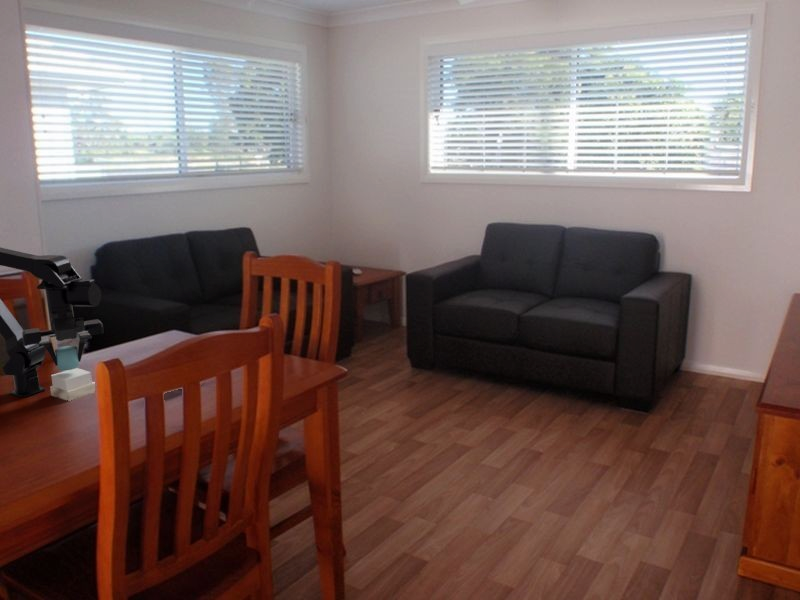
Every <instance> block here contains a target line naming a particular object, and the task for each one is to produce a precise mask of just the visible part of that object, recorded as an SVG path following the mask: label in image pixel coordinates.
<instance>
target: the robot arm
mask: <svg viewBox="0 0 800 600" xmlns="http://www.w3.org/2000/svg"><path fill="white" fill-rule="evenodd" d="M0 266H1V267H6V268H12V269H15V270H19V271H25V272H27V273H30V274H31V275H33V276H34V277H35V278H37V279H39V280H41V282H40V283H39V284H38V285H36V289H37V290H44V291H45V297H46V304H47V312H48V319H49V327H50V329H47V330H41V329H40V328H39V327H36V328H27V329H24V328H23V327H22V326H21V325H20V324H19V323H18V321H17V320H16V318H15V317H14V315H13V314H12V313H11V311H10V310H9V308H8V307H7V305H5V303H4V302H3V301H2V299H1V298H0V335H1V337H2V338H3V339H4V341H5V349H6V354H7V355H8V357H9V359H8V360H7V362H6V363H5V364H4V365H3V366H2V371H3V372H4V374H5V376H12V380H13V385H14V389H13V390H10V391H9V394H11V395H13V396H17V397H19V398H20V397H21V398H25V397H26V398H27V397H28V396H32V395H35V394H38V393H40V392H43V391H46V387H43V386H40V380H39V374H38V370H37V368H38V367H41V366H43V364H44V360H45V357H46V355H47V352H48V354H49V355H50V358H51V359H52V361H53V362H54V365H55V366H56V367H57V359H56V354H55V349H54V346H53V342H52V340H51V338H54V337H55V339H56V340H57V341H58V342H59V341H60V342H62V341H64V340H75V339H76V347H77V352H78V360H79V363H80V362H81V360H82V356H83V352H84V348H85V345H86V343H87V341H88V340H89V339H91V338H92V336H95V335H96V336H97V335H101V334H104V333H105V330H104V329H105V328H104V324H103V323H102V321H101V320H99V319H98V318H96V319H91V320H85V321H84V317H77V318H75V315H74V309H73V307H97V306H99V305H100V304H101V300H102V290H101V289H100V287H99V286H98V284H96V280H95V279H91V278H90V279H83V278H82V276H80V274H79V273H78V272H77V270H76V269H75V268H74V267H73V265H72V264H71V262H70V261H69V258H68V257H67V256H65V255H61V254H60V255H56V254H48V255H47V254H46V255H45V254H44V255H36V254H31V253H26V252H23V251H18V250H14V249H8V248H5V247H1V246H0Z"/></svg>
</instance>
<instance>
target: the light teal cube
mask: <svg viewBox="0 0 800 600" xmlns="http://www.w3.org/2000/svg"><path fill="white" fill-rule="evenodd" d="M54 352H55V356H56V359H57V366H56V367H57V370H59V371H67V370H72V369H75V368H79V367H80V362H79V360H78V352H77V345H65V346H60V347H58V348H55V349H54Z"/></svg>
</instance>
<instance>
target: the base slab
mask: <svg viewBox="0 0 800 600" xmlns="http://www.w3.org/2000/svg"><path fill="white" fill-rule="evenodd" d="M49 388H50V395H51V396H52V397H54V398H57V397H58V398H57V399H61V400H64V401H67V400H68V402H72V401H74V399H75V400H77V399H79V398H82V397H86V396H88V394H89V395H92V394H94V393H95V392H94V391H95V381H92V383H91V384H88V385H85V386H82V387H79V388H76V389H73V390H69V391H65V390H62V389H60V388H57V387H54V386H53V385H51V386H49ZM71 400H72V401H71Z"/></svg>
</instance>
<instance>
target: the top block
mask: <svg viewBox="0 0 800 600" xmlns="http://www.w3.org/2000/svg"><path fill="white" fill-rule="evenodd" d="M50 376H51V383H52V386H54V387H57V388H60V389H62V390H65V391H69V390H73V389H76V388H79V387H82V386H85V385H88V384H91V383H92V382H93V378H92V373H91V371H88V370H85V369H82V368H79V367H78V368H75V369H72V370H62V371H60V372H57V373H54V374H51V375H50Z"/></svg>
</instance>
